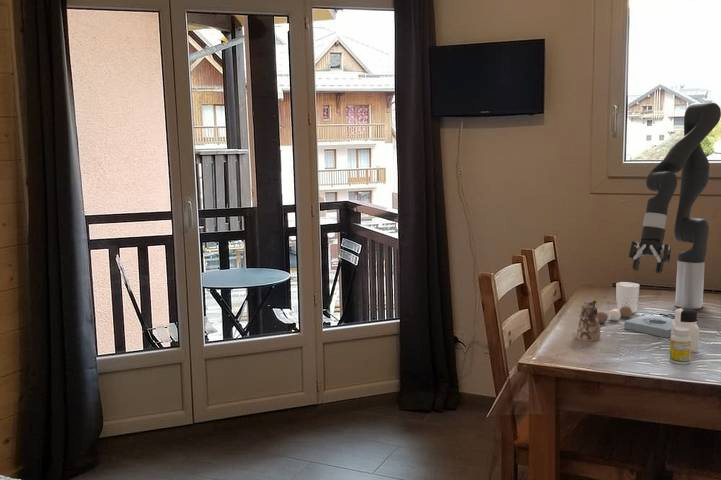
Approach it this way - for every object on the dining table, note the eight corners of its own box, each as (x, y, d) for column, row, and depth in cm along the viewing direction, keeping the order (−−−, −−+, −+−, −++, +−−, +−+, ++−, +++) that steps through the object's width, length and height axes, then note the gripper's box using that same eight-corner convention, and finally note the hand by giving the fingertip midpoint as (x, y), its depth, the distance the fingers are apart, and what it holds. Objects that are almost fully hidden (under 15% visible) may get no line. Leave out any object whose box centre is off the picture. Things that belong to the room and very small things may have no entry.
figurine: (571, 336, 231) (573, 299, 229) (589, 334, 234) (591, 297, 232) (586, 342, 225) (588, 304, 223) (604, 339, 227) (606, 302, 226)
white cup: (639, 313, 260) (641, 286, 258) (616, 313, 261) (618, 286, 260) (636, 308, 268) (637, 282, 266) (613, 308, 269) (614, 281, 268)
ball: (612, 318, 253) (612, 307, 253) (622, 320, 250) (623, 309, 250) (606, 320, 251) (606, 309, 250) (616, 322, 248) (616, 311, 247)
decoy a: (623, 315, 258) (623, 304, 257) (633, 317, 255) (634, 306, 254) (617, 317, 255) (617, 306, 255) (627, 319, 252) (628, 308, 252)
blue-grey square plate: (648, 321, 249) (648, 314, 249) (690, 329, 238) (691, 322, 238) (624, 328, 240) (624, 321, 240) (667, 337, 229) (667, 330, 228)
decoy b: (599, 321, 250) (599, 309, 250) (609, 323, 247) (610, 311, 247) (592, 322, 248) (593, 311, 247) (602, 325, 245) (603, 313, 244)
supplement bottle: (686, 366, 200) (688, 332, 199) (666, 362, 204) (668, 329, 202) (692, 361, 204) (694, 328, 203) (672, 358, 208) (674, 325, 206)
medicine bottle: (695, 346, 219) (697, 307, 218) (698, 352, 213) (700, 312, 211) (670, 344, 222) (672, 305, 220) (671, 350, 215) (674, 311, 213)
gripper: (678, 230, 252) (671, 276, 252) (641, 227, 263) (634, 271, 263) (667, 226, 247) (659, 273, 247) (630, 223, 259) (622, 268, 258)
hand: (646, 272), depth 255 cm, fingers open, 8 cm apart
